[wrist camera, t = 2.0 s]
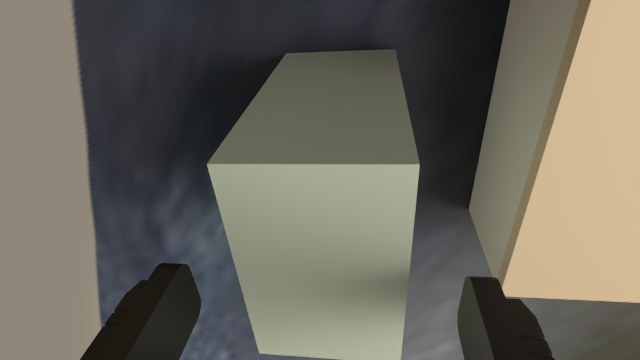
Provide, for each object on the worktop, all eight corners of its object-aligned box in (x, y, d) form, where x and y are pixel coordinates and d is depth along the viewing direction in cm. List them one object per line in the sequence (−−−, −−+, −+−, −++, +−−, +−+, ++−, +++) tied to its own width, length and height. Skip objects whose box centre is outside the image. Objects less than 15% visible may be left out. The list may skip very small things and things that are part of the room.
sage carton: (286, 53, 17) (206, 163, 9) (395, 48, 16) (419, 164, 8) (302, 192, 21) (259, 353, 13) (388, 193, 21) (400, 363, 13)
